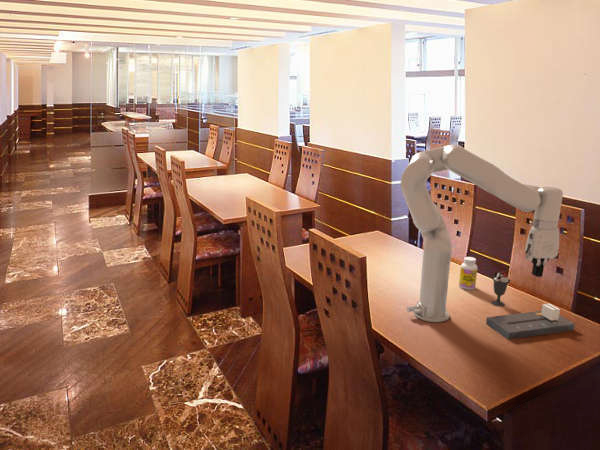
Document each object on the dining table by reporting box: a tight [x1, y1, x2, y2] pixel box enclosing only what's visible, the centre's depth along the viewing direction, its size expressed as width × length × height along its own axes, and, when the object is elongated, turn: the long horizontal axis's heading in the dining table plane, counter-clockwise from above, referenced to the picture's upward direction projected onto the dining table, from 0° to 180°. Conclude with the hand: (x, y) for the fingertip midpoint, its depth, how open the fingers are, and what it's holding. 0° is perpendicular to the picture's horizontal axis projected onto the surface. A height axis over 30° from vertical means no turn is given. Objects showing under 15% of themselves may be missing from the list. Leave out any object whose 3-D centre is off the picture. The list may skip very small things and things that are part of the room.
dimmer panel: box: [485, 310, 576, 340], centre depth 174 cm, size 27×12×3 cm, turn 105°
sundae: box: [491, 268, 511, 307], centre depth 191 cm, size 7×7×15 cm
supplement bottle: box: [458, 256, 479, 291], centre depth 208 cm, size 7×7×13 cm
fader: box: [540, 303, 561, 321], centre depth 175 cm, size 3×5×4 cm, turn 16°
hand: (536, 275), depth 170 cm, fingers closed
